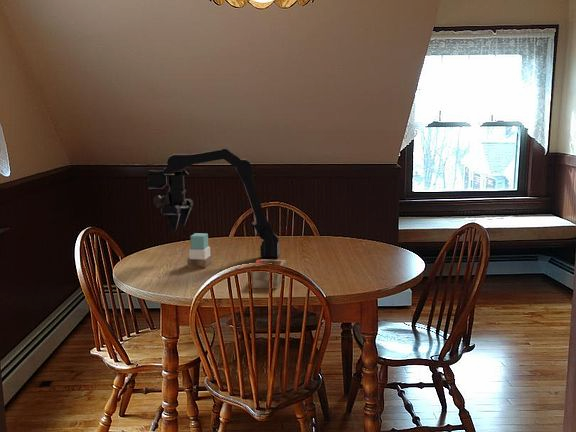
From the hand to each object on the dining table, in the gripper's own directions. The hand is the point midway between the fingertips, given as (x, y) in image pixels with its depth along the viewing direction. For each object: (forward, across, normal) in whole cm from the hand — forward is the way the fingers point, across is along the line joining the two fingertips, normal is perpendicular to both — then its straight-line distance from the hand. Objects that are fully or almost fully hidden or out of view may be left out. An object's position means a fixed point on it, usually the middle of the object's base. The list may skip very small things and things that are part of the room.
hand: (178, 228), depth 227 cm
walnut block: (+13, +4, +9) cm, 17 cm away
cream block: (+10, +4, +9) cm, 14 cm away
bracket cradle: (+13, +21, +39) cm, 46 cm away
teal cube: (+6, +4, +9) cm, 12 cm away
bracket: (+13, +20, +38) cm, 45 cm away
